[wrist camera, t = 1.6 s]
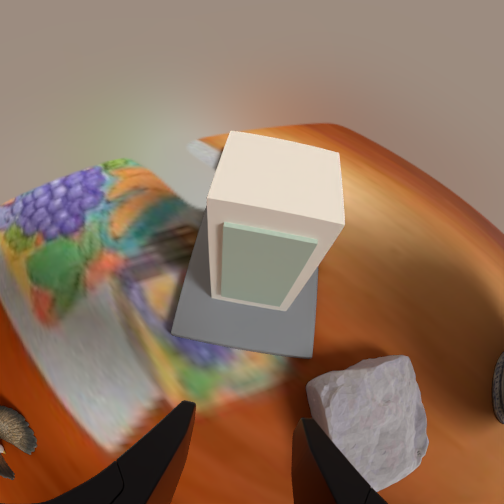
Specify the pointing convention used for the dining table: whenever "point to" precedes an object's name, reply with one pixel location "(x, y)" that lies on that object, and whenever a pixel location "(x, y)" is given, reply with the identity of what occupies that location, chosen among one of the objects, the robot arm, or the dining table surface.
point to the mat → (242, 313)
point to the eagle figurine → (14, 436)
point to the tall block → (271, 218)
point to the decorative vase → (498, 389)
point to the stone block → (373, 417)
